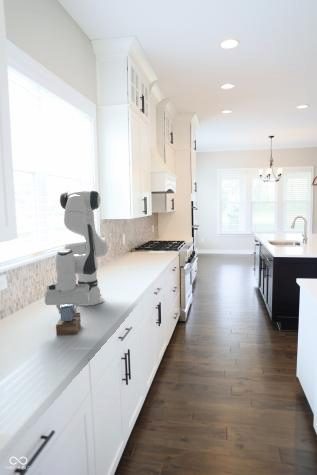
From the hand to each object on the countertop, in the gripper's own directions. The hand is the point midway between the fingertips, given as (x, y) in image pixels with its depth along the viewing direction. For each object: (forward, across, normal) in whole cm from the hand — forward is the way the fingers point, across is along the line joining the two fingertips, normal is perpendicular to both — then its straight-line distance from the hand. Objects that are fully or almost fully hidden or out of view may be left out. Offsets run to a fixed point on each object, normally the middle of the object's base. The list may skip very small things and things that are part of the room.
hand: (67, 313), depth 158 cm
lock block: (+2, 0, 0) cm, 2 cm away
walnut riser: (+9, 0, -1) cm, 9 cm away
